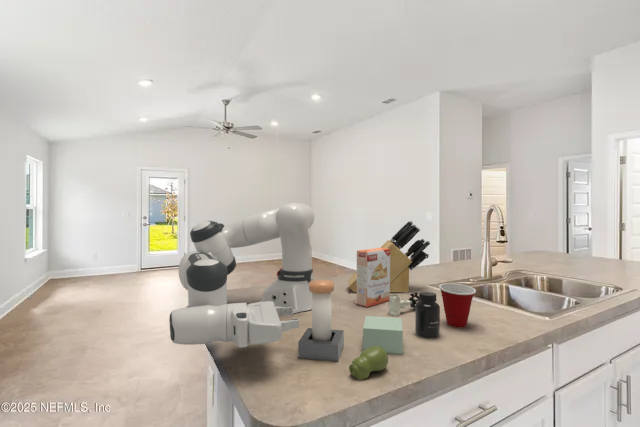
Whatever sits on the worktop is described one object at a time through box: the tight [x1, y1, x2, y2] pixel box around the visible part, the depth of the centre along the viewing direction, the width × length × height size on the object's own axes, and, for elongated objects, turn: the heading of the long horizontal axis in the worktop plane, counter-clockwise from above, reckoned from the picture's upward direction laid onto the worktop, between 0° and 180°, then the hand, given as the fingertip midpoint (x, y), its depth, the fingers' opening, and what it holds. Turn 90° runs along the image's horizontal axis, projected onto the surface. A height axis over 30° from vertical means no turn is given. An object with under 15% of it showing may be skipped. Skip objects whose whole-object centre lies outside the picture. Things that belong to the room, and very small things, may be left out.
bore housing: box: [297, 327, 345, 362], centre depth 89 cm, size 10×10×4 cm
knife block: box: [347, 220, 431, 294], centre depth 151 cm, size 11×35×31 cm, turn 88°
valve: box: [387, 292, 420, 317], centre depth 120 cm, size 7×7×12 cm
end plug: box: [309, 279, 335, 341], centre depth 88 cm, size 6×6×18 cm
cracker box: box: [356, 247, 391, 308], centre depth 132 cm, size 14×6×21 cm, turn 131°
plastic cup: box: [438, 282, 477, 329], centre depth 107 cm, size 11×11×12 cm
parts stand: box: [362, 315, 404, 355], centre depth 92 cm, size 10×10×6 cm
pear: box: [348, 346, 389, 380], centre depth 77 cm, size 6×5×10 cm
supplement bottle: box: [414, 291, 441, 339], centre depth 99 cm, size 7×7×12 cm
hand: (295, 316), depth 86 cm, fingers open, 8 cm apart
